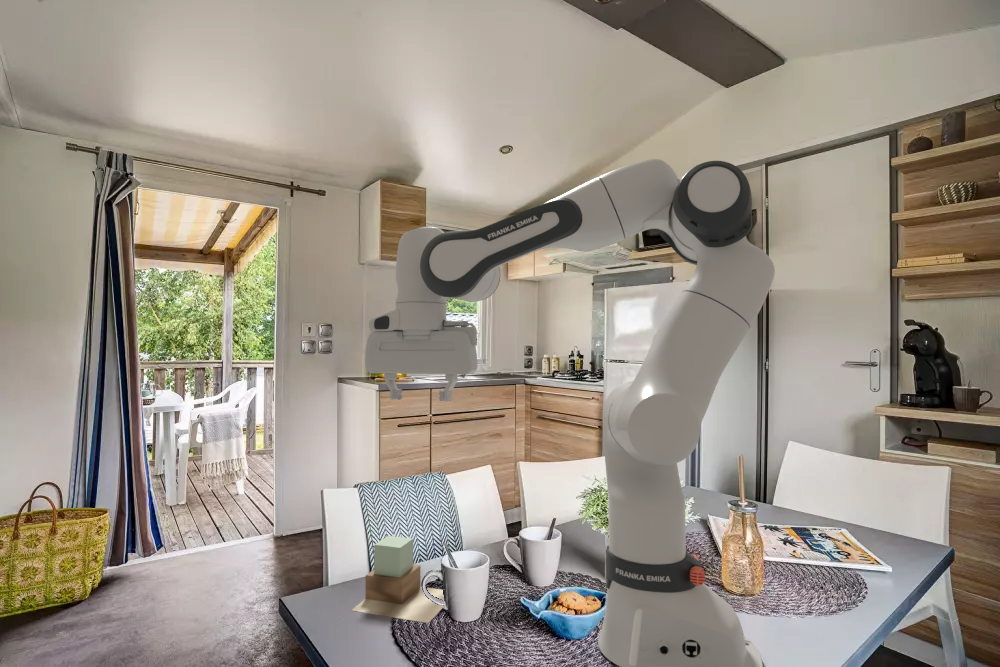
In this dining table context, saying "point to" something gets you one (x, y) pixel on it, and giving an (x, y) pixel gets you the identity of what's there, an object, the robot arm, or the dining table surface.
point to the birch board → (405, 607)
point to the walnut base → (392, 586)
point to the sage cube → (393, 556)
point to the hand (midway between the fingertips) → (420, 400)
